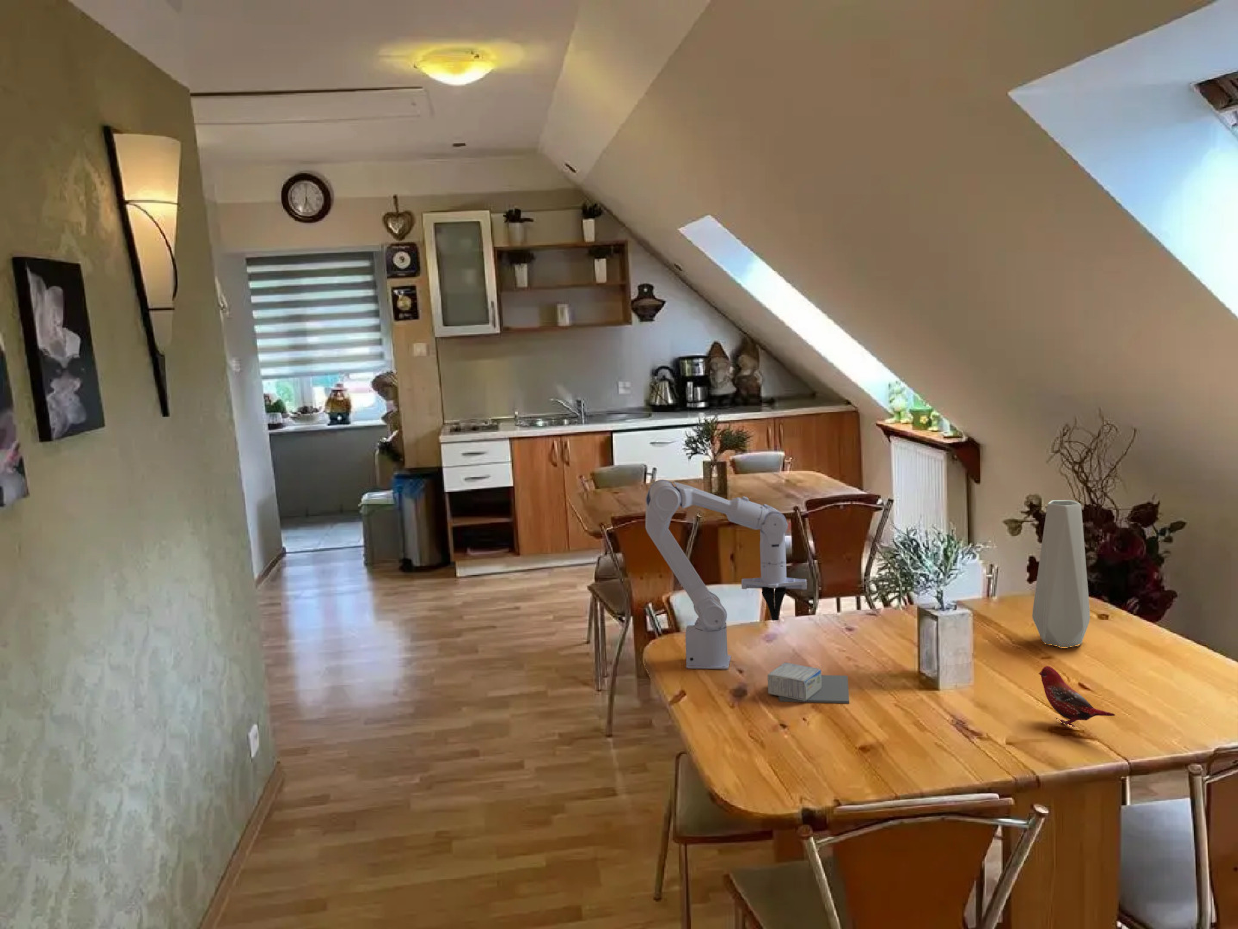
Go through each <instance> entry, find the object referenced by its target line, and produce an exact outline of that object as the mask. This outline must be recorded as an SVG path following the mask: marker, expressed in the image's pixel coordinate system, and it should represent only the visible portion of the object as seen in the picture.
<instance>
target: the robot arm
mask: <svg viewBox="0 0 1238 929" xmlns="http://www.w3.org/2000/svg"><path fill="white" fill-rule="evenodd" d="M691 506H697V507H701V508H704V509H708V510H711V511H714V512H717V513H721V514H724V515H726V518H727V520H728V521H729V522H731V523H732V524H733V523H734V524H737V525H740V526H743V527H746V528H749V529H750V530H751V529H752V530H754V531H755V530H756V531H757V530H759V536H760V537H759V538H760V541H759V554H760V555H759V556H760V577H753V578H742V579H741V590H748V589H761V595H762V597H763V599H764V601H765V603H766V605H767V607H768V610H769V614H770V617H771V621H779V612H780V608H781V605H782V603H783V600H784V597H785V595H786V592H787V589H791V590H792V589H793V590H797V589H798V590H799V589H800V590H807V585H808V582H807V579H806V578H793V577H787V555H786V554H787V551H786V550H787V549H786V534H785V533H786V532H787V531H788V527H789V523H788V522H787V518H786V516H785V515H784V514H783V513H782V512H781V511H780V510H778V509H777V508H774V507H773V506H772V505H769V504H766V503H763V504H759V503H757V502H753V501H750V499H749V498H748V497H747V496H744V495H743V496H742V497H739V496H738V497H734V498H733V499H730V500H729V499H726V498H724V497H721V496H719V495H715V494H712V493H711V492H707V491H705V490H702V489H700V488H696V487H694V486H691V485H689V484H688V485H687V484H684V483H680V482H676V481H675V482H671V481H669V480H667V479H657V480H655V481H654V482H652V484H651V485H650V486H649V488H648V490H647V493H646V496H645V530H646V533H647V535H648V536H649V538H650V539H651V540H652V542H653V543H654V545H655V546H656V549H657V550H658V551H659V553H660V555H661V556H662V557H663V559H664V561H665V562H666V564H667V565H668V567H669V568H670V569H671V571H672V573H673V575H674V576H675V577H676V579H677V581H678V582H679V583H680V585H681V586H682V588H683V590H684V591H685V592H686V594H687V596H688V597H689V599H690V601H691V602H692V605H693V609H694V610H693V611H694V613H695V614H696V615H697V619H696V620H695V622H694V624H691V625H687V626H686V627H685V635H684V636H685V638H684V642H685V657H686V658H685V659H686V660H685V662H686V665H685V668H686V669H702V670H703V669H704V670H705V669H706V670H708V669H709V670H715V669H716V670H728V669H729V666H730V662H731V659H732V655H730V654H729V653H728V634H727V633H728V632H727V631H728V630H727V629H728V628H727V618H728V612H727V609H726V608H725V606H723V604H722V603H721V600H720V598H719V596H717V595H716V594H715V593H714V592H712V591H710V590H709V589H708V587H707V586H706V584H705V582H704V581H703V580H702V578H701V576H700V575H699V574H698V572H697V571H696V569H695V567H694V566H693V564H692V563H691V561H690V560H689V558H688V557H687V555H686V553H685V552H684V550H683V549H682V548H681V546H680V545H679V543H678V541H677V540H676V538H675V537H674V535H673V533H672V532H671V530H670V529H669V528H670V524H671V521H672V518H673V516H674V515H675V514H676V512H677V511H678V510H679V507H681V509H685V508H686V509H687V508H689V507H691Z"/></svg>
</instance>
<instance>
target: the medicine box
mask: <svg viewBox="0 0 1238 929" xmlns="http://www.w3.org/2000/svg"><path fill="white" fill-rule="evenodd" d="M821 675H822V669H821V668H816V667H811V666H806V665H801V664H796V663H792V662H791V663H789V662H783V663H782V664H780V665H779V666H778V667H776V668H774V669H773V670H772V671H770V672H768V673H767V693H768V694H769V695H774V696H778V697H779V696H783V697H788V698H793V699H798V700H803V701H806V700H807V699H808V698H810V697H811V696H812V695H813V694H815V693H816V692H817V691H819V690H820V689H821V684H822V681H821Z"/></svg>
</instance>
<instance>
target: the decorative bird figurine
mask: <svg viewBox="0 0 1238 929" xmlns="http://www.w3.org/2000/svg"><path fill="white" fill-rule="evenodd" d="M1038 675H1040V676H1041V678H1040V679H1041V683H1042V686H1043V690H1044V694H1045V697H1046V699H1047V701H1048V703H1049V704H1050V705H1051V707H1052V709H1054V710H1055V712H1056V713H1057V714H1058V715H1060V716H1062V717H1063V718H1064V719H1067V720H1064V719H1059V718H1058V717H1055V718H1056V719H1055V720H1057V719H1059V720H1060V721H1061V722H1062V723H1065V724H1069V725H1072V727H1073V728H1074V727H1076V725H1074V724H1073V723H1076V722H1077V721H1088V720H1089V719H1090V720H1091V718H1093V717H1097V716H1101V717H1103V716H1104V717H1107V716H1108V717H1114V716H1116V714H1115V713H1112V712H1109V711H1106V710H1101V709H1097V708H1094V707H1093V705H1092V704H1091V703H1089V701H1087V700H1086V698H1085V697H1084V696H1082V694H1080V693H1078V691H1076V690H1074V689H1073V688H1072V687H1070V686H1069V684H1067V682H1065V681H1064V679H1063V678H1062V676H1061V675H1060V674H1059V672H1058V671H1057V670H1055V669H1054V667H1052V666H1049V665H1045V666H1043V668H1042V669H1041V671H1040V672H1038ZM1060 721H1059V722H1060ZM1061 722H1060V723H1061ZM1062 723H1061V724H1062Z"/></svg>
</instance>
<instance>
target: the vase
mask: <svg viewBox="0 0 1238 929" xmlns="http://www.w3.org/2000/svg"><path fill="white" fill-rule="evenodd" d="M1082 511H1083V510H1082V505H1081V503H1079V502H1077V501H1075V500H1072V499H1071V500H1070V499H1063V500H1062V499H1058V500H1053V499H1052V500H1050V501H1049V502H1048V503H1047V506H1046V513H1045V519H1044V520H1045V521H1044V527H1043V532H1042V533H1043V534H1042V539H1041V540H1042V541H1041V547H1040V554H1039V555H1040V556H1039V562H1038V570H1037V576H1036V583H1035V592H1034V597H1033V598H1034V599H1033V607H1032V613H1031V614H1032V615H1031V616H1032V620H1033V622H1034V625H1035V627H1036V629H1037V631H1038V634H1039V636H1040V639H1041V642H1044V643H1046V644H1052V645H1057V646H1060V647H1070V646H1075V645H1078V644H1081V645H1082V642H1083V640H1084V638H1085V635H1086V632H1087V629H1088V628H1089V624H1090V620H1091V619H1090V618H1091V613H1090V612H1091V611H1090V601H1089V600H1090V598H1089V587H1088V586H1089V584H1088V573H1087V564H1086V563H1087V560H1086V559H1087V558H1086V549H1085V536H1084V535H1085V534H1084V523H1083V512H1082ZM1044 643H1043V644H1044ZM1046 644H1045V645H1046Z"/></svg>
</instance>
